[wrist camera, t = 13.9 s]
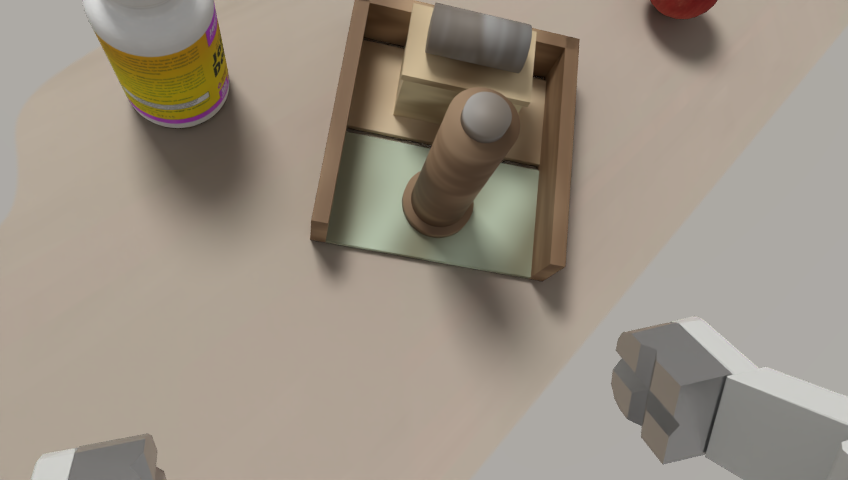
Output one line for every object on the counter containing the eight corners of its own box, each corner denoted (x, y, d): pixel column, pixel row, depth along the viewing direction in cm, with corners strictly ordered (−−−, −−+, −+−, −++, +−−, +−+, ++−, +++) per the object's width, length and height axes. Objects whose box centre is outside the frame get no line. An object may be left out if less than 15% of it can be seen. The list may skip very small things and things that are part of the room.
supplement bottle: (240, 121, 43) (217, 0, 31) (137, 140, 42) (70, 19, 29) (219, 37, 45) (189, -110, 33) (119, 51, 43) (48, -98, 31)
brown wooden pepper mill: (397, 230, 43) (433, 147, 30) (407, 165, 44) (446, 60, 32) (466, 243, 43) (530, 167, 31) (474, 179, 45) (538, 81, 32)
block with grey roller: (389, 116, 45) (409, 46, 37) (400, 51, 47) (421, -29, 38) (504, 140, 46) (547, 77, 38) (510, 76, 48) (553, 3, 40)
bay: (310, 239, 42) (311, 220, 38) (352, 22, 47) (357, -13, 43) (542, 281, 44) (565, 266, 40) (558, 69, 49) (579, 39, 45)
